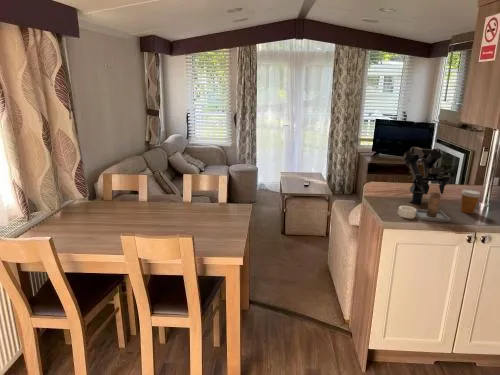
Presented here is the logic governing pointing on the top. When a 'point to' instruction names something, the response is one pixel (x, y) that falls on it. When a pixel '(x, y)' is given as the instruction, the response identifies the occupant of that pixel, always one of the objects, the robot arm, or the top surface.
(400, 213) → the white nut
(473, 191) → the disposable coffee cup
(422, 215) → the tray
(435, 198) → the dowel peg
